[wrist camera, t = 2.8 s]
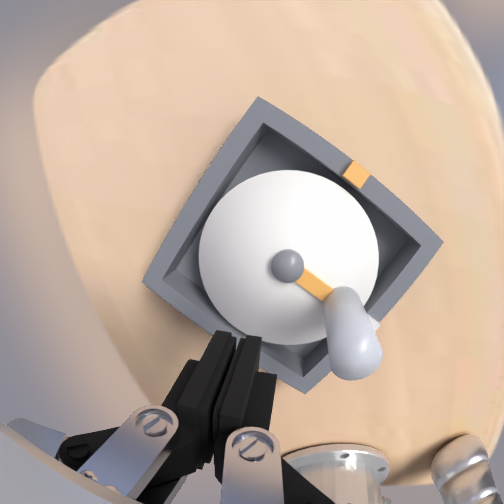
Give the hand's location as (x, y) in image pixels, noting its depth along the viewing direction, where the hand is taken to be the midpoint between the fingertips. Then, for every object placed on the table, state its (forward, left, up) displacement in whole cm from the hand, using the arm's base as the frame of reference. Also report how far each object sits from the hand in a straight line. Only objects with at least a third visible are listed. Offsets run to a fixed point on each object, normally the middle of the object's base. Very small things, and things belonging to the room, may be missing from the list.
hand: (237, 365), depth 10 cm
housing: (0, -3, -8) cm, 9 cm away
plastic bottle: (-28, +3, -8) cm, 29 cm away
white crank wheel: (0, -3, -7) cm, 7 cm away
